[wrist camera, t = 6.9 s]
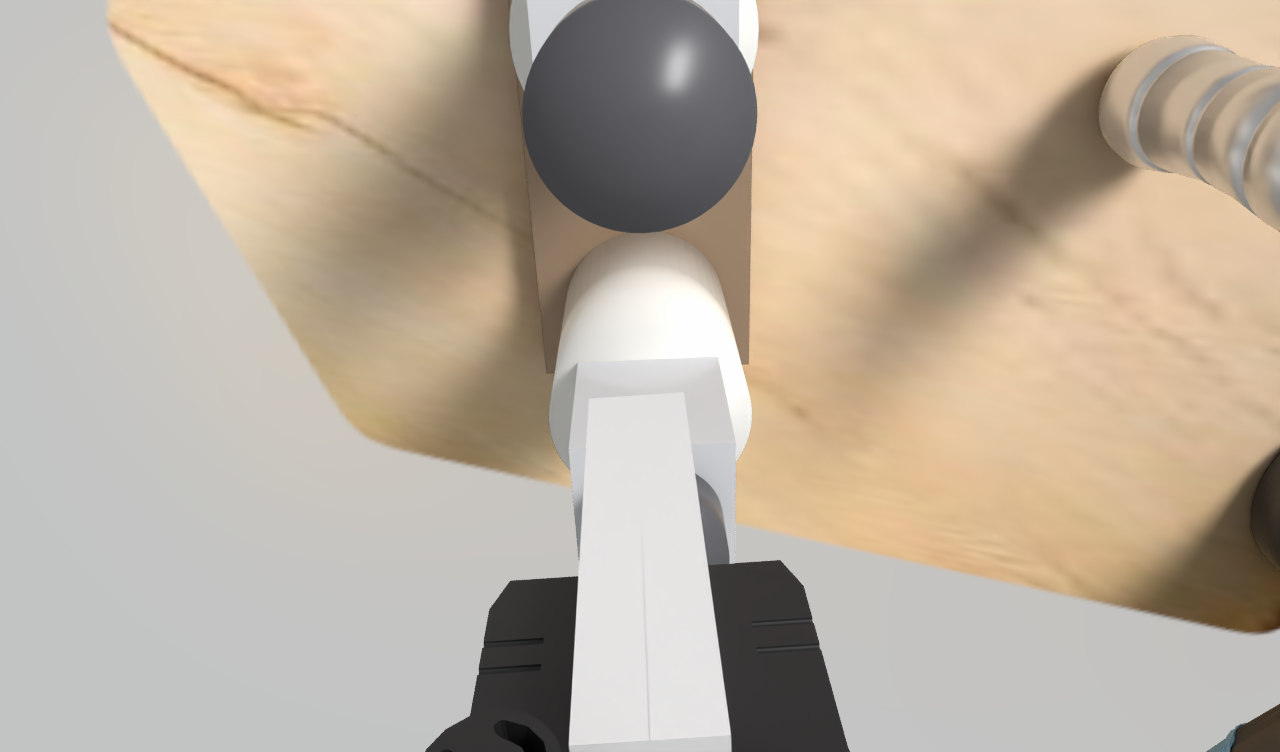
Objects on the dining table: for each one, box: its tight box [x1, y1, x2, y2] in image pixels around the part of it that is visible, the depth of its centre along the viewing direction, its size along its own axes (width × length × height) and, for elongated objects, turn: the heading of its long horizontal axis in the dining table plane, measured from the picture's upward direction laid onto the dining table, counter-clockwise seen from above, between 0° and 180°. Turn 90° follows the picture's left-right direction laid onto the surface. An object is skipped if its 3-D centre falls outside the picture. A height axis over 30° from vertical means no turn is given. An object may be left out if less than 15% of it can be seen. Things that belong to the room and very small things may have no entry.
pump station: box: [509, 0, 759, 564], centre depth 39 cm, size 25×12×22 cm, turn 3°
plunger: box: [522, 0, 757, 233], centre depth 23 cm, size 5×5×9 cm
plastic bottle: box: [1099, 35, 1280, 232], centre depth 39 cm, size 6×7×20 cm
